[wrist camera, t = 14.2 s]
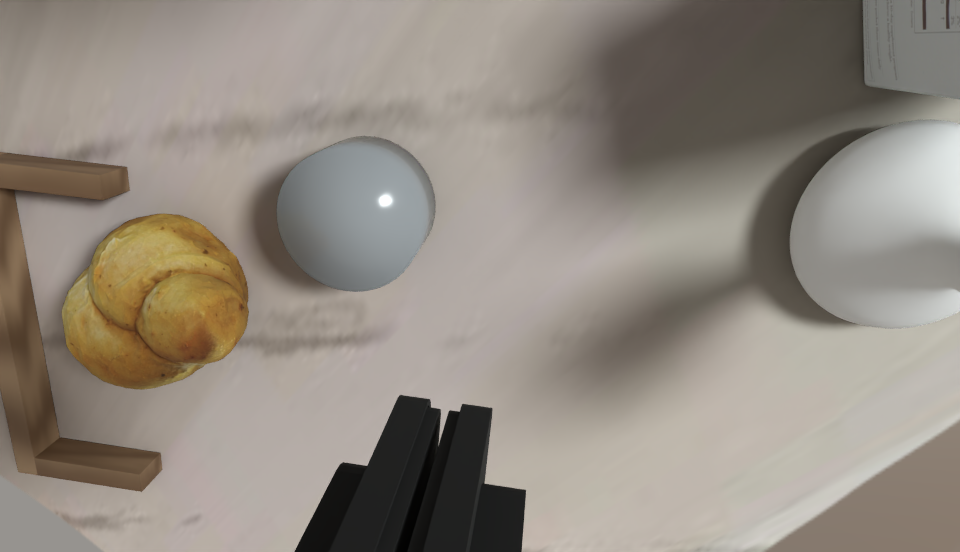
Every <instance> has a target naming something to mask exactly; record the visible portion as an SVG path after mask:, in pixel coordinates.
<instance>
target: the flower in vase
mask: <svg viewBox="0 0 960 552" xmlns="http://www.w3.org/2000/svg"><path fill="white" fill-rule="evenodd" d="M790 253H791V259H792V264H793V267H794V270H795V273H796V276H797V278H798V279H799V281H800V283H801V285H802V287H803V288H804V289H805V291H806V292H807V294H808V295H809V296H810V297H811V298H812V299H813V300H814V301H815V302H816V303H817V304H818V305H820V306H821V307H822V308H824V309H825V310H826V311H828V312H829V313H831V314H833V315H835V316H837V317H839V318H841V319H844V320H846V321H849V322H852V323H856V324H860V325H864V326H871V327H878V328H909V327H916V326H921V325H926V324H930V323H933V322H936V321H939V320H942V319H945V318H947V317H949V316H951V315H954V314H956V313H958V312H960V124H959V123H955V122H951V121H942V120H915V121H908V122H902V123H898V124H894V125H890V126H887V127H883V128H881V129H878V130H876V131H873V132H871V133H869V134H867V135H865V136H863V137H861V138H859V139H857V140H855V141H854V142H852V143H851V144H849V145H848V146H846V147H845V148H843V149H842V150H840V151H839V152H838V153H837V154H836V155H835V156H833V157H832V158H831V159H830V160H829V161H828V162H827V163H826V164H825V165H824V166H823V167H822V168H821V169H820V170H819V171H818V172H817V174H816V175H815V176H814V178H813V179H812V180H811V182H810V183H809V184H808V186H807V188H806V189H805V191H804V193H803V195H802V196H801V198H800V201H799V203H798V205H797V208H796V210H795V213H794V217H793V221H792V224H791V232H790Z"/></svg>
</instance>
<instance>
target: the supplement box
mask: <svg viewBox="0 0 960 552" xmlns="http://www.w3.org/2000/svg"><path fill="white" fill-rule="evenodd" d="M863 36H864V81H865V84H866V85H867V86H871V87H877V88H884V89H891V90H898V91H905V92H912V93H919V94H925V95H932V96H939V97H946V98H953V99H960V0H863Z"/></svg>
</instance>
